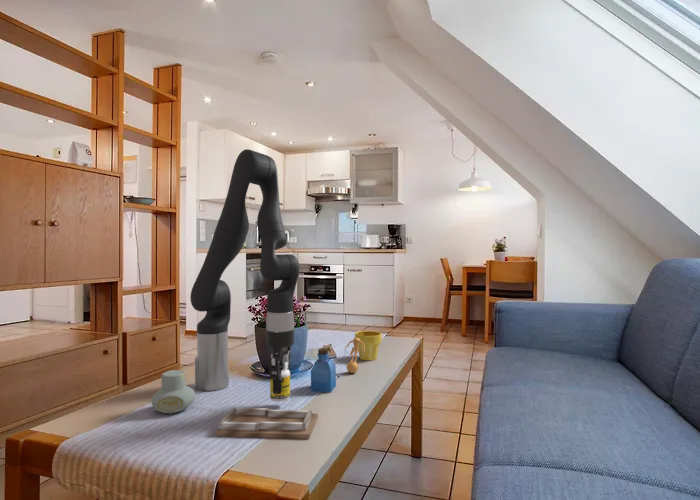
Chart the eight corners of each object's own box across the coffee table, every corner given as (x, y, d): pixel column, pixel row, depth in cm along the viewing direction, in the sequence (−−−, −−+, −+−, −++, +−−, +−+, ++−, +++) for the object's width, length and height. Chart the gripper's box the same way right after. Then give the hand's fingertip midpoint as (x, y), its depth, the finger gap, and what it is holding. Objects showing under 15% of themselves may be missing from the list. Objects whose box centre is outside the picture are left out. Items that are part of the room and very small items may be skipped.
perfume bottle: (331, 392, 128) (330, 352, 128) (311, 391, 129) (310, 351, 129) (335, 385, 134) (335, 347, 134) (316, 384, 135) (316, 346, 135)
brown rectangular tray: (215, 436, 100) (215, 425, 99) (234, 415, 111) (234, 405, 111) (309, 438, 97) (309, 427, 97) (318, 417, 109) (317, 407, 109)
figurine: (339, 372, 148) (338, 337, 148) (349, 368, 153) (349, 334, 152) (359, 376, 143) (358, 340, 143) (369, 372, 148) (368, 337, 147)
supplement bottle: (273, 403, 114) (273, 366, 113) (267, 396, 118) (267, 361, 118) (292, 399, 116) (292, 364, 116) (286, 393, 121) (286, 359, 121)
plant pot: (386, 357, 167) (386, 331, 167) (373, 363, 158) (373, 337, 158) (363, 353, 172) (363, 329, 172) (350, 359, 164) (349, 334, 163)
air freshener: (197, 402, 121) (197, 367, 121) (192, 413, 113) (191, 376, 113) (156, 405, 119) (156, 369, 119) (148, 417, 111) (147, 378, 111)
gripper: (274, 322, 124) (274, 380, 125) (258, 332, 110) (258, 398, 110) (299, 323, 124) (299, 381, 124) (287, 333, 109) (287, 399, 110)
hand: (280, 389), depth 117 cm, fingers closed on supplement bottle, 5 cm apart
